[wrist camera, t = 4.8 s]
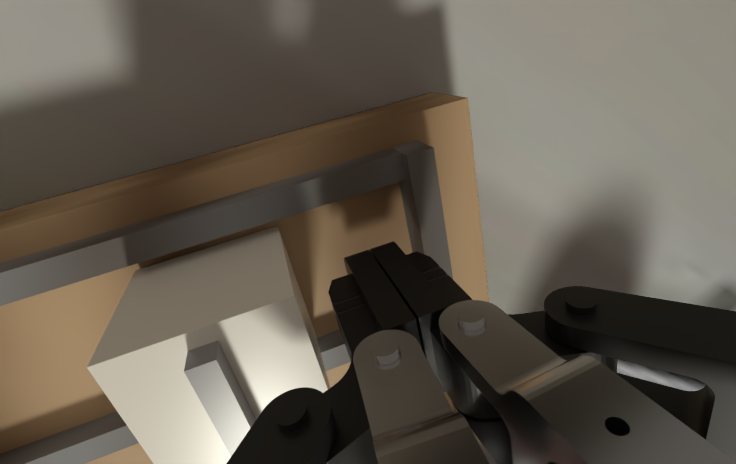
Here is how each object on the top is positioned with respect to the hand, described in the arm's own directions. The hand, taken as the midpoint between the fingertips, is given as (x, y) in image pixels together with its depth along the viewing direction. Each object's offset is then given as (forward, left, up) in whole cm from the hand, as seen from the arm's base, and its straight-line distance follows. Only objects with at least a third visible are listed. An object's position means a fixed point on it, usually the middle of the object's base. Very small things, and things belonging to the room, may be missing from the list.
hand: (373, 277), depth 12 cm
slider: (+4, 0, -1) cm, 4 cm away
